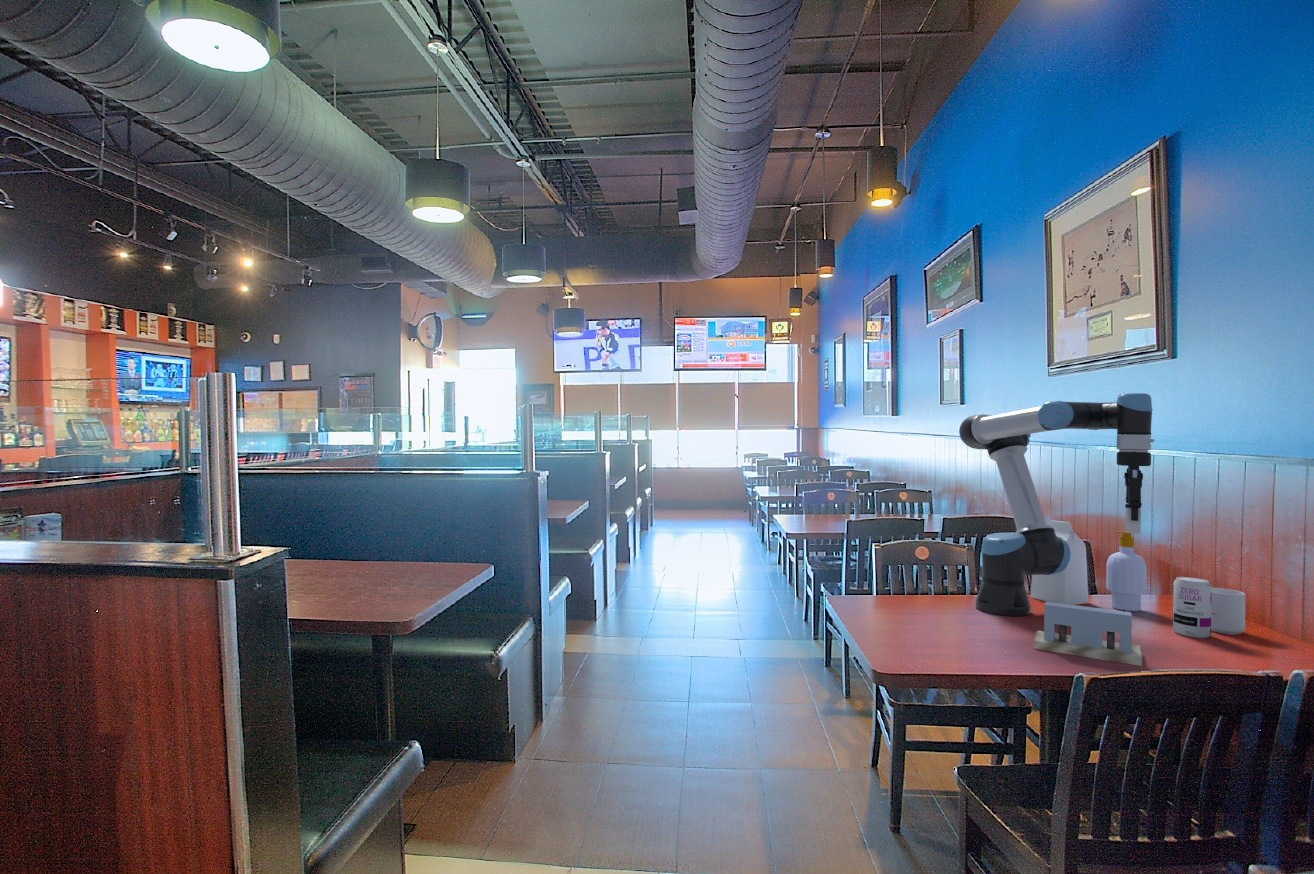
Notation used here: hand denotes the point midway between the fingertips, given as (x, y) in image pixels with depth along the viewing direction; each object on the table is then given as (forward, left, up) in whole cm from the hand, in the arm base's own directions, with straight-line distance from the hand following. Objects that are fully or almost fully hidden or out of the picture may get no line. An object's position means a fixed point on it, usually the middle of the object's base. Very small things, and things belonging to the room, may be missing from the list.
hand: (1132, 530), depth 178 cm
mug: (+21, +25, -29) cm, 44 cm away
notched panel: (-10, -22, -27) cm, 36 cm away
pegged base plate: (-10, -21, -29) cm, 37 cm away
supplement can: (+14, +14, -29) cm, 35 cm away
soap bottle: (0, +37, -29) cm, 47 cm away
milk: (-18, +38, -29) cm, 51 cm away
